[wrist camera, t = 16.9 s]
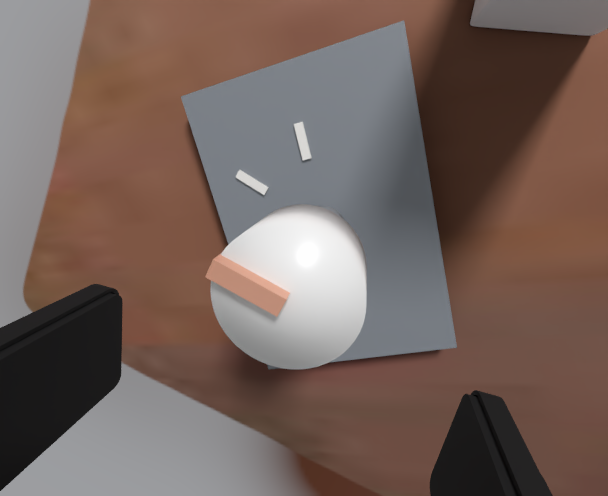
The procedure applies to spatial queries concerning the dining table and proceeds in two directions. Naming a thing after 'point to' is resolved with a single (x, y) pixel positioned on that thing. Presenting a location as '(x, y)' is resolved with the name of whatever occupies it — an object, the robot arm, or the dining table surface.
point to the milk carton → (543, 15)
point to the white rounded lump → (292, 287)
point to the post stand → (338, 173)
